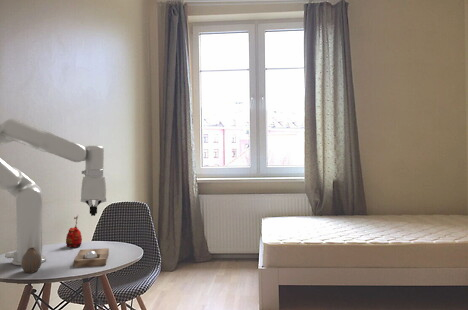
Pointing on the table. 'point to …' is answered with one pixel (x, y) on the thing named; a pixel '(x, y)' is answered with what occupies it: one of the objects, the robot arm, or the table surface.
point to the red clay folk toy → (74, 237)
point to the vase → (31, 260)
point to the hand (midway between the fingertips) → (93, 215)
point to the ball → (90, 255)
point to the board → (100, 260)
